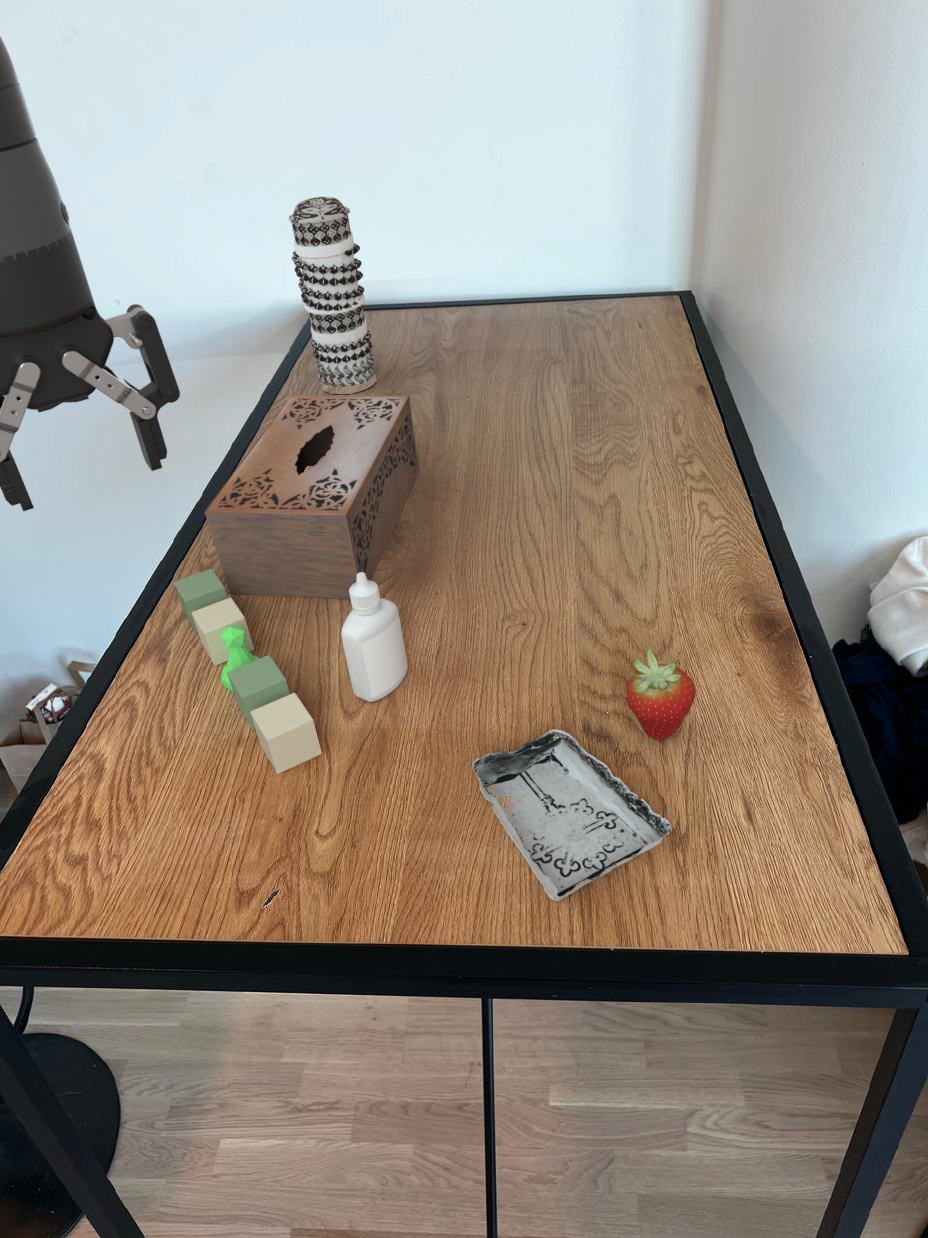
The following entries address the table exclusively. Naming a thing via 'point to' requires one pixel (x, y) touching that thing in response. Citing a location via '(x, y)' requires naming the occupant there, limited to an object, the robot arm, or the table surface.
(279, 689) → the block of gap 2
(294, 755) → the block near
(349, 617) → the eye dropper bottle
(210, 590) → the block far
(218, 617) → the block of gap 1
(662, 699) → the fruit
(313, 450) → the tissue box cover
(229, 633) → the game piece
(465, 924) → the table surface
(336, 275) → the black white cylinder
